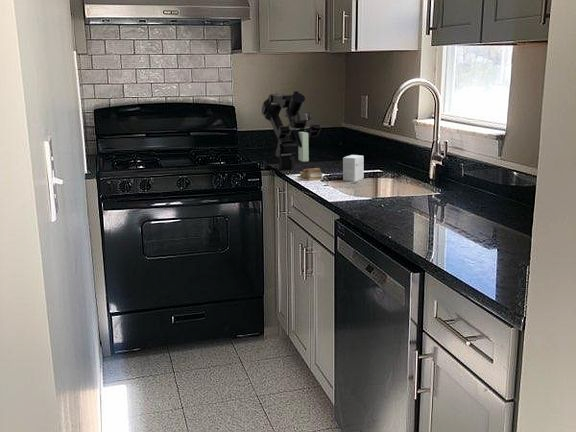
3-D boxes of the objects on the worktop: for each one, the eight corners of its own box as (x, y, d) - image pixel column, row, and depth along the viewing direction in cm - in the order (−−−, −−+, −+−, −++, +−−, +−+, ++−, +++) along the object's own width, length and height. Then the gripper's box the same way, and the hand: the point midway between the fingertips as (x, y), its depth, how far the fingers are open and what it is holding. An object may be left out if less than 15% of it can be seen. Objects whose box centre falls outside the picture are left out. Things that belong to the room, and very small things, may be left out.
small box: (352, 179, 272) (352, 154, 269) (363, 180, 269) (364, 155, 266) (342, 182, 265) (342, 157, 263) (354, 183, 262) (354, 158, 260)
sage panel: (298, 159, 279) (298, 132, 276) (304, 159, 280) (303, 131, 277) (303, 161, 274) (302, 133, 271) (308, 161, 275) (308, 132, 272)
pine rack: (297, 178, 277) (297, 166, 275) (312, 176, 279) (312, 165, 278) (308, 183, 266) (308, 170, 264) (323, 181, 268) (323, 169, 267)
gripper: (278, 107, 272) (288, 136, 264) (319, 104, 278) (330, 133, 271) (272, 124, 281) (282, 152, 274) (312, 121, 287) (322, 149, 280)
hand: (304, 146), depth 274 cm, fingers closed on sage panel, 3 cm apart
